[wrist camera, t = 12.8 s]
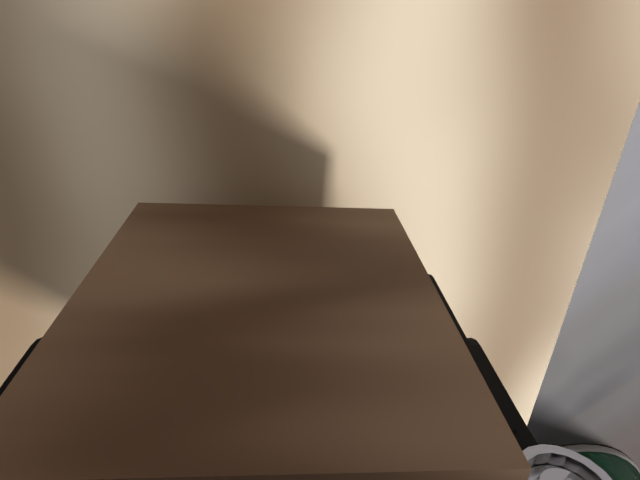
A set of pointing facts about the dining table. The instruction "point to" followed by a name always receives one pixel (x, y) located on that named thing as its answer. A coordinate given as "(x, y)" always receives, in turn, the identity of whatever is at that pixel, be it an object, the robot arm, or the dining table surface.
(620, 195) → the dining table surface
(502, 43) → the birch base
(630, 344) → the dining table surface
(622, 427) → the dining table surface
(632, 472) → the canned tomato
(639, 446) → the dining table surface
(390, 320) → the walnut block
